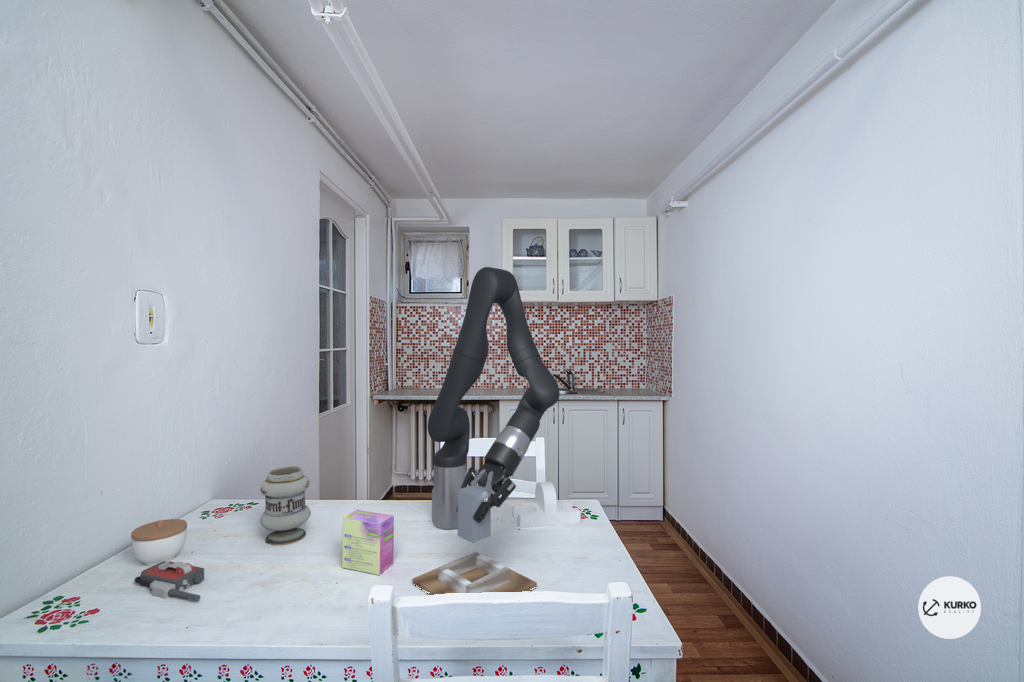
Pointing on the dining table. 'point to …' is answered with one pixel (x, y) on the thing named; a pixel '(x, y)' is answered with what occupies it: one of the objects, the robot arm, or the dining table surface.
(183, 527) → the lidded jar
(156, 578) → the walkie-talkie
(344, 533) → the box
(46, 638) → the dining table surface
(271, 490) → the apothecary jar
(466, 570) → the pocket plate
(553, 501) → the white base with disc
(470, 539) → the gray rectangular block
